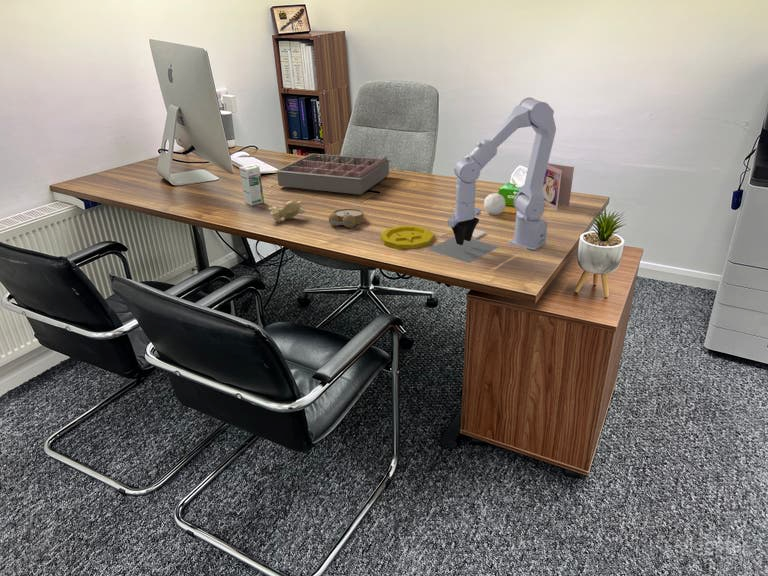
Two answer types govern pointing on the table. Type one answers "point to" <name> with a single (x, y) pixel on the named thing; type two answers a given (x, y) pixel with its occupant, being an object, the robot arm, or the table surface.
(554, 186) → the greeting card
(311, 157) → the organizer tray
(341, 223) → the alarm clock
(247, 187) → the syrup box
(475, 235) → the tile
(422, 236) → the decorative disc
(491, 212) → the geometric ball
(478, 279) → the table surface
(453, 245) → the mat
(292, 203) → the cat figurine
